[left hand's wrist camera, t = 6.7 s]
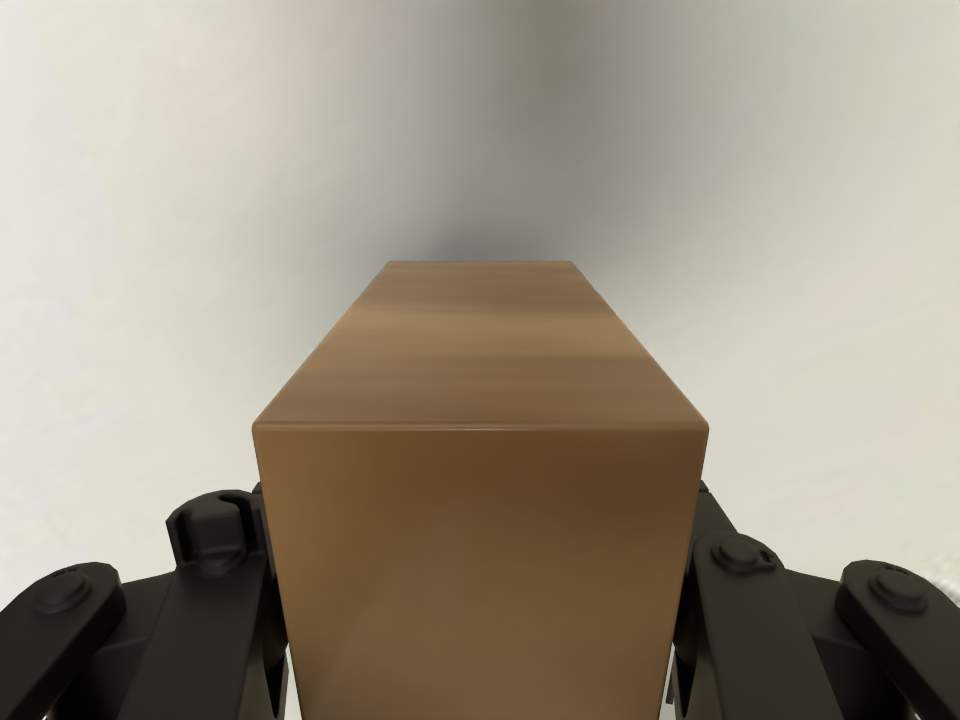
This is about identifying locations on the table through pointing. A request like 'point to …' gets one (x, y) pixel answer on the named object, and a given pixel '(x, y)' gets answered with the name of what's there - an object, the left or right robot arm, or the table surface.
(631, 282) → the table surface
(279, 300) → the table surface
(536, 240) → the table surface
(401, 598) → the bar
